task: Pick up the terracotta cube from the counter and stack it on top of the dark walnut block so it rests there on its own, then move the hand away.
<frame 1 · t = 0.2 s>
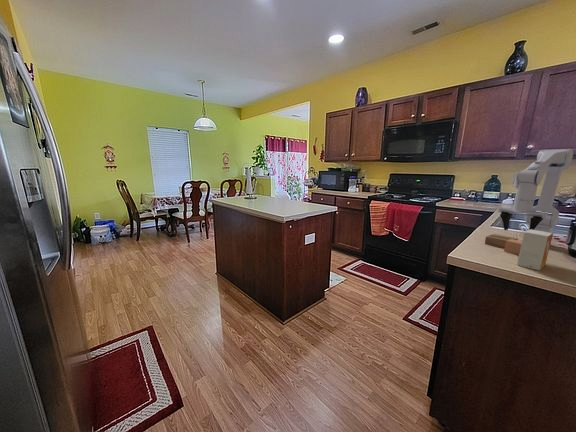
hand: (517, 231, 99), 10 cm above the table, tool pointing down, fingers open, 7 cm apart
small box: (530, 266, 89), on the table
walnut block: (500, 245, 113), on the table
terracotta cube: (513, 252, 103), on the table
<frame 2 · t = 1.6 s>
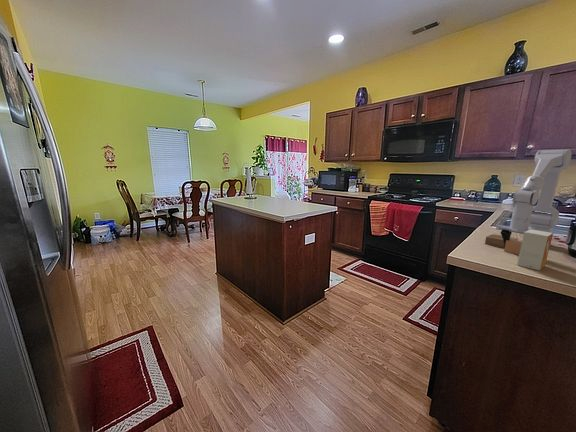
hand: (514, 249, 103), 1 cm above the table, tool pointing down, fingers closed on terracotta cube, 5 cm apart
terracotta cube: (513, 252, 103), on the table, touching gripper
everything else where it was.
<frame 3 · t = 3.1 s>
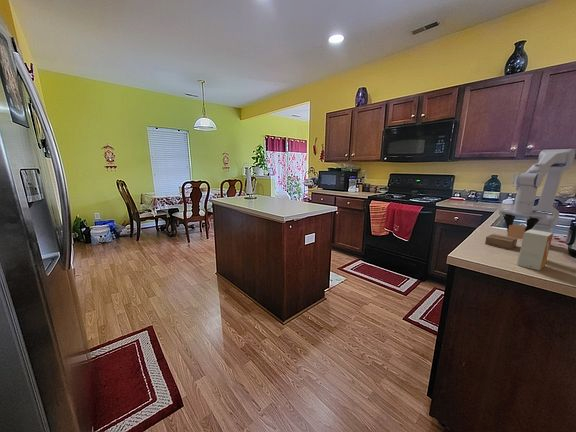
hand: (517, 233, 102), 8 cm above the table, tool pointing down, fingers closed on terracotta cube, 5 cm apart
terracotta cube: (516, 237, 102), point 7 cm above the table, touching gripper
everything else where it was.
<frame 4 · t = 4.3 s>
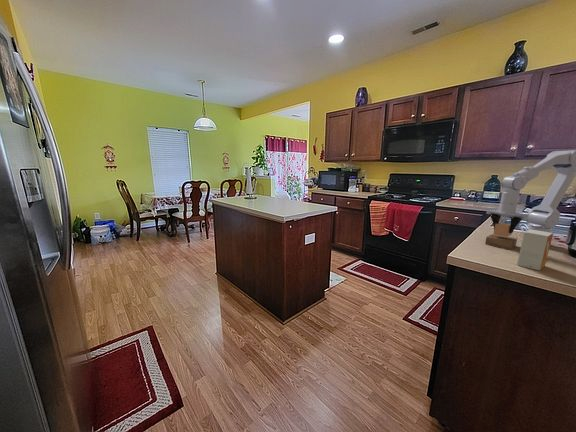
hand: (503, 231, 111), 7 cm above the table, tool pointing down, fingers closed on terracotta cube, 5 cm apart
terracotta cube: (502, 234, 112), point 5 cm above the table, touching gripper
everything else where it was.
when the fingers open (6 cm above the table, at t = 4.8 s): terracotta cube drops 1 cm, resting on walnut block.
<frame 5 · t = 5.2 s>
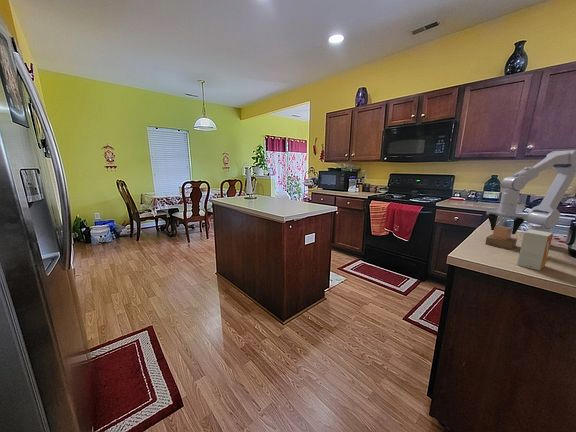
hand: (502, 231, 111), 6 cm above the table, tool pointing down, fingers open, 7 cm apart
walnut block: (500, 245, 113), on the table, touching terracotta cube
terracotta cube: (501, 237, 112), point 4 cm above the table, touching walnut block
everything else where it was.
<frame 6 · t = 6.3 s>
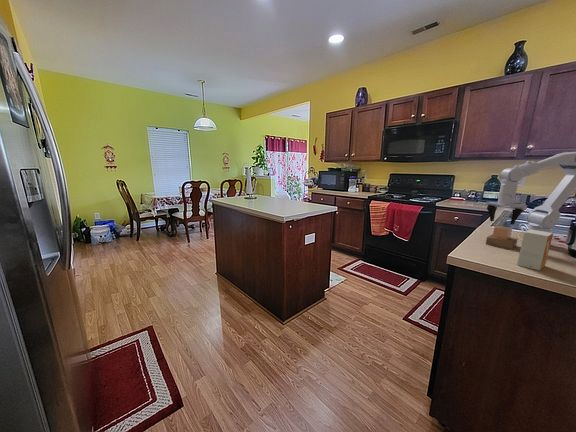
hand: (501, 222, 113), 10 cm above the table, tool pointing down, fingers open, 7 cm apart
walnut block: (500, 245, 113), on the table
terracotta cube: (501, 237, 112), point 4 cm above the table
everything else where it was.
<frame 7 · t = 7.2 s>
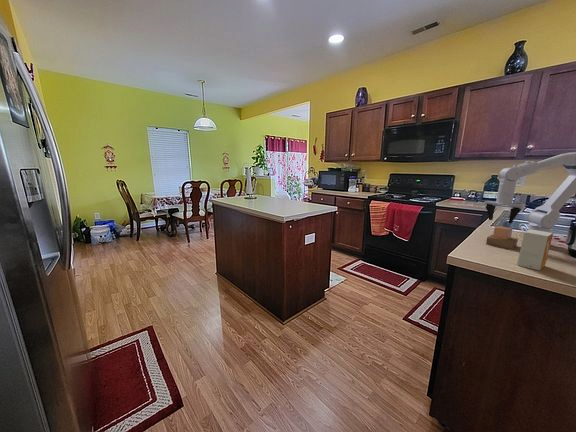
hand: (500, 221, 115), 10 cm above the table, tool pointing down, fingers open, 7 cm apart
walnut block: (500, 245, 113), on the table, touching terracotta cube
terracotta cube: (501, 237, 112), point 4 cm above the table, touching walnut block
everything else where it was.
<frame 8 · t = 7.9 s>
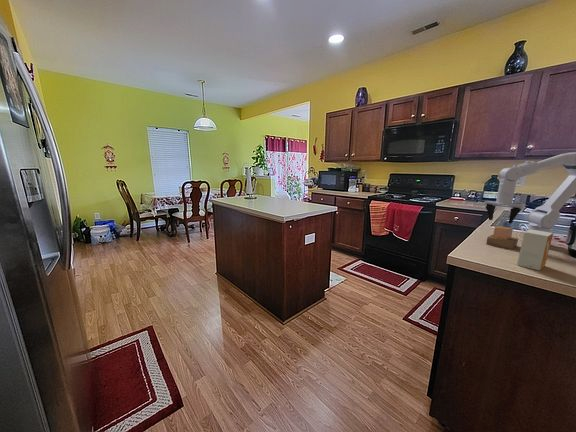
hand: (500, 221, 115), 10 cm above the table, tool pointing down, fingers open, 7 cm apart
nothing on the table moved.
at the end: terracotta cube 0.4 cm off-centre on the walnut block, point 4.0 cm above the walnut block's base; terracotta cube tilted 0°; the gripper is holding nothing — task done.
